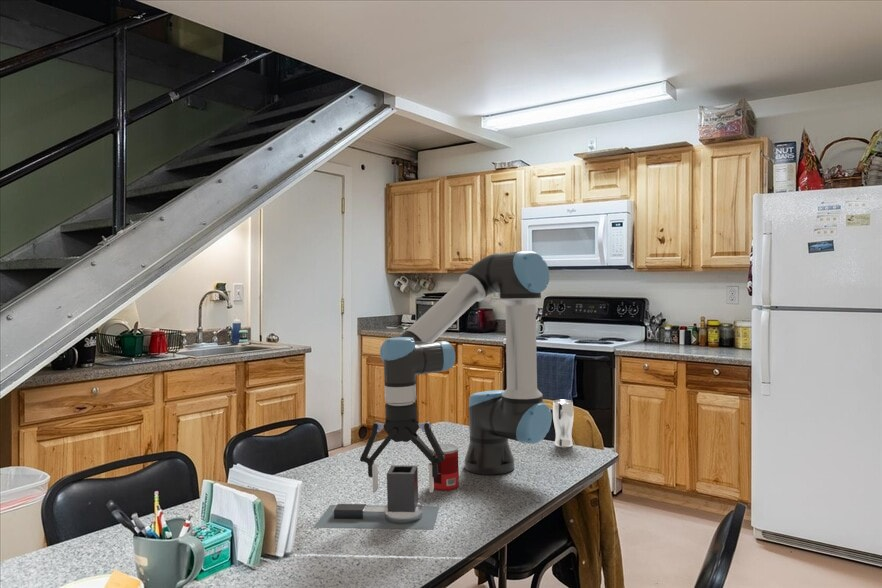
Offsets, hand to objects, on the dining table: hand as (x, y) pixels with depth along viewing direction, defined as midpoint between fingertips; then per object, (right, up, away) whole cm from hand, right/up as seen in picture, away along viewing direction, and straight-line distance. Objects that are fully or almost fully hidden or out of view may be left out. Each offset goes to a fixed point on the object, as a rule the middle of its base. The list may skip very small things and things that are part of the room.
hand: (403, 490), depth 142 cm
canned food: (+10, -6, +21) cm, 24 cm away
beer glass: (+51, -5, +60) cm, 79 cm away
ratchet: (-6, -6, +1) cm, 9 cm away
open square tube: (0, -4, 0) cm, 4 cm away
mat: (-6, -7, +1) cm, 9 cm away
